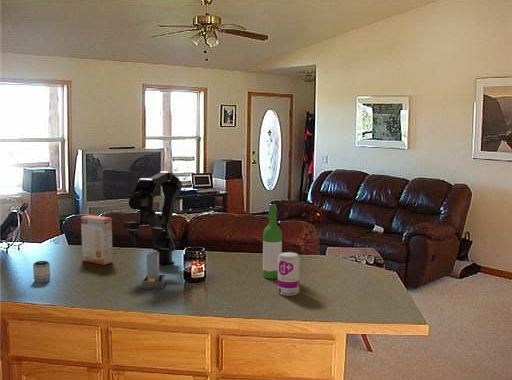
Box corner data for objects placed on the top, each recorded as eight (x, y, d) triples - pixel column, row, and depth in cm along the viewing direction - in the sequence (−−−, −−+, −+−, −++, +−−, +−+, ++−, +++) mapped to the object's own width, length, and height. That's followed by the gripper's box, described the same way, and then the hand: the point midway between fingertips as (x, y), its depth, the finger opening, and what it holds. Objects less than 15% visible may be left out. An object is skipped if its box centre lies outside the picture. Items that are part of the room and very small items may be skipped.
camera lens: (44, 277, 235) (43, 259, 234) (53, 280, 232) (52, 261, 231) (30, 281, 230) (29, 262, 229) (39, 284, 227) (39, 264, 226)
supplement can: (292, 297, 211) (293, 258, 209) (273, 293, 216) (273, 255, 214) (303, 291, 218) (303, 253, 216) (284, 288, 223) (284, 250, 221)
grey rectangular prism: (149, 283, 228) (148, 251, 226) (159, 283, 228) (158, 251, 226) (147, 287, 223) (146, 254, 221) (157, 287, 223) (157, 254, 221)
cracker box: (113, 262, 259) (112, 217, 256) (103, 265, 254) (102, 219, 251) (92, 258, 267) (90, 214, 264) (81, 261, 262) (80, 216, 259)
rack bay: (145, 282, 230) (145, 272, 229) (165, 282, 230) (164, 271, 229) (141, 288, 221) (141, 278, 220) (162, 288, 221) (161, 278, 221)
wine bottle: (283, 279, 235) (284, 206, 231) (264, 279, 234) (265, 207, 230) (279, 273, 243) (280, 203, 239) (261, 274, 241) (261, 204, 237)
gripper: (138, 210, 227) (137, 249, 227) (176, 209, 240) (175, 246, 240) (123, 208, 234) (121, 246, 235) (160, 207, 248) (159, 243, 248)
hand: (145, 245), depth 239 cm, fingers open, 9 cm apart
